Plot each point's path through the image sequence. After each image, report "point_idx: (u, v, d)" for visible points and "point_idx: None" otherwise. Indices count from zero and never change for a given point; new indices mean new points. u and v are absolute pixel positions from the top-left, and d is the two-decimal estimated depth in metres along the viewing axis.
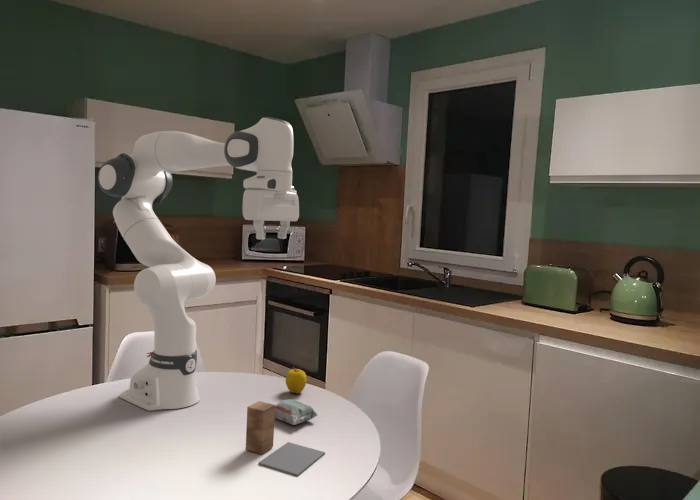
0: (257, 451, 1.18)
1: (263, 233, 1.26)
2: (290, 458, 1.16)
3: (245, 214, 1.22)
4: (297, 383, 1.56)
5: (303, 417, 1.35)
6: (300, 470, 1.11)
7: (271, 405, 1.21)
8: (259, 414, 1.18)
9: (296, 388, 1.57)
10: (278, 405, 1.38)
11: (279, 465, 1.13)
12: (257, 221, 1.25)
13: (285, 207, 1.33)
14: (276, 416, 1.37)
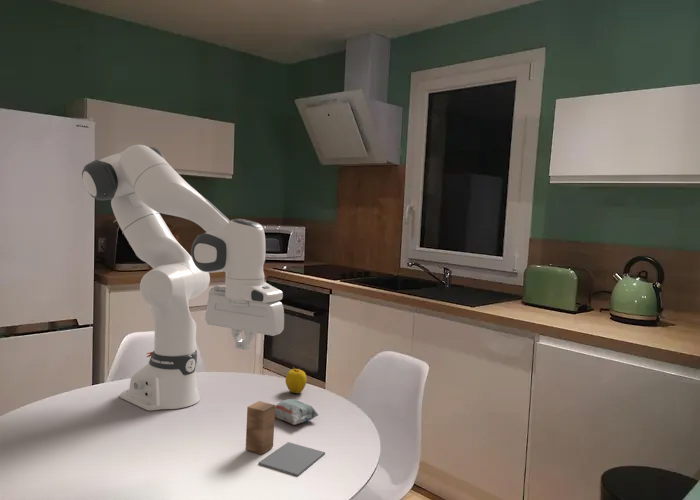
0: (257, 451, 1.18)
1: None
2: (290, 458, 1.16)
3: (277, 330, 1.16)
4: (297, 383, 1.56)
5: (304, 417, 1.35)
6: (300, 470, 1.11)
7: (271, 405, 1.21)
8: (259, 414, 1.18)
9: (296, 388, 1.57)
10: (279, 405, 1.38)
11: (279, 465, 1.13)
12: (252, 331, 1.20)
13: None
14: (277, 416, 1.37)
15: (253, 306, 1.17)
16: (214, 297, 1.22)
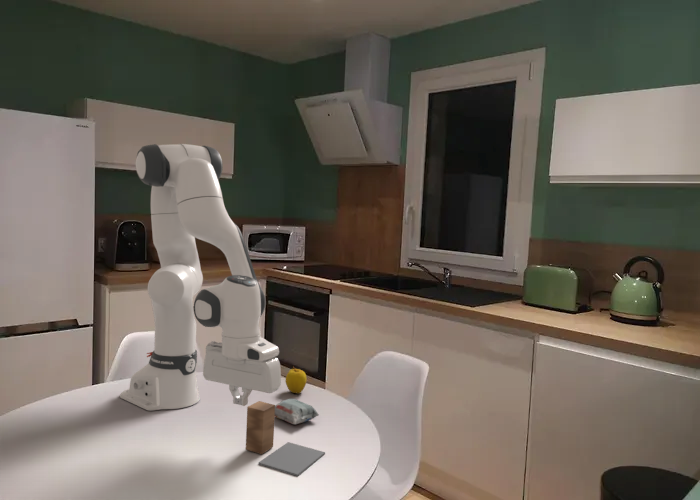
0: (257, 451, 1.18)
1: None
2: (290, 458, 1.16)
3: (274, 388, 1.17)
4: (297, 383, 1.56)
5: (304, 417, 1.35)
6: (300, 470, 1.11)
7: (271, 405, 1.21)
8: (259, 414, 1.18)
9: (296, 388, 1.57)
10: (280, 404, 1.38)
11: (279, 465, 1.13)
12: None
13: None
14: (277, 415, 1.37)
15: (249, 364, 1.17)
16: (211, 353, 1.23)
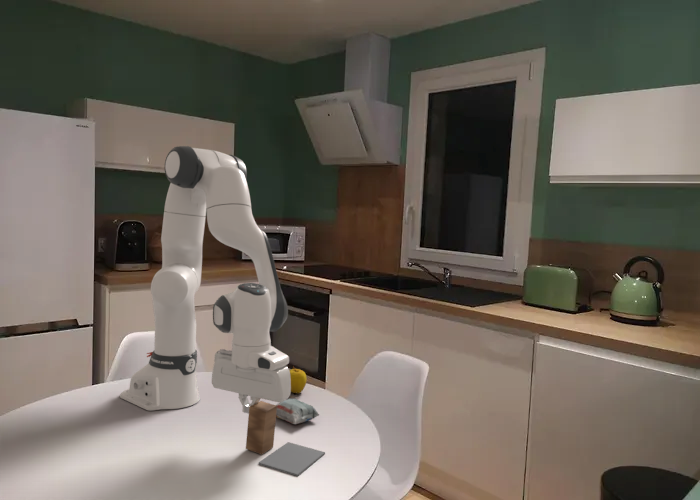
0: (257, 451, 1.18)
1: None
2: (290, 458, 1.16)
3: (284, 397, 1.16)
4: (297, 383, 1.56)
5: (304, 417, 1.35)
6: (300, 470, 1.11)
7: (273, 406, 1.20)
8: (260, 414, 1.17)
9: (296, 388, 1.57)
10: (280, 404, 1.38)
11: (279, 465, 1.13)
12: None
13: None
14: (278, 415, 1.37)
15: (260, 372, 1.17)
16: (221, 361, 1.22)
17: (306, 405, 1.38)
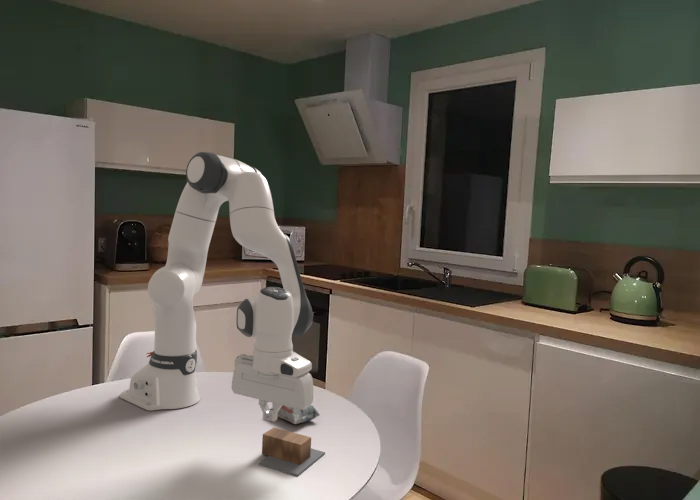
0: (263, 448, 1.17)
1: None
2: None
3: (307, 404, 1.14)
4: None
5: (304, 416, 1.35)
6: (300, 470, 1.11)
7: (308, 455, 1.17)
8: (296, 458, 1.14)
9: None
10: None
11: (279, 465, 1.13)
12: None
13: None
14: (278, 415, 1.38)
15: (282, 379, 1.14)
16: (241, 366, 1.20)
17: None
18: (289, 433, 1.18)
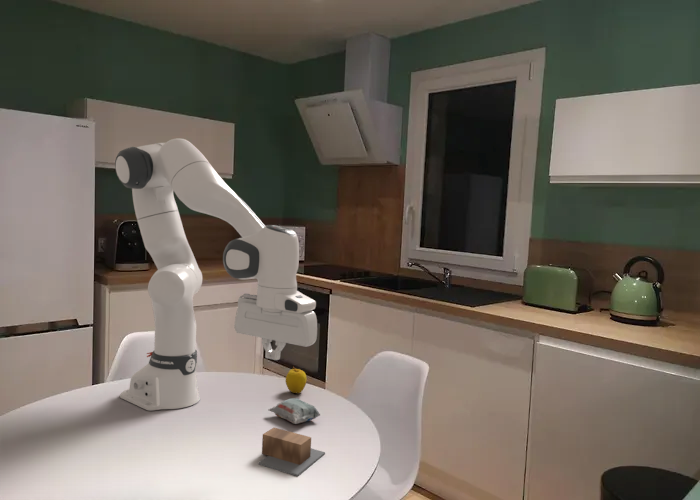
0: (263, 448, 1.17)
1: None
2: None
3: (311, 341, 1.13)
4: (297, 383, 1.56)
5: (305, 416, 1.35)
6: (300, 470, 1.11)
7: (308, 455, 1.17)
8: (296, 458, 1.14)
9: (296, 388, 1.57)
10: (281, 404, 1.39)
11: (279, 465, 1.13)
12: (283, 341, 1.17)
13: None
14: (279, 414, 1.38)
15: (286, 315, 1.13)
16: (245, 305, 1.19)
17: (307, 405, 1.38)
18: (289, 433, 1.18)
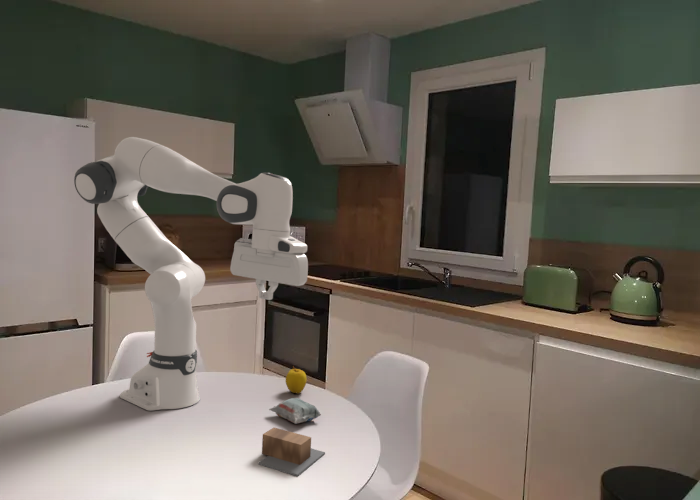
0: (263, 448, 1.17)
1: None
2: None
3: (301, 281, 1.20)
4: (297, 383, 1.56)
5: (305, 416, 1.35)
6: (300, 470, 1.11)
7: (308, 455, 1.17)
8: (296, 458, 1.14)
9: (296, 388, 1.57)
10: (282, 403, 1.39)
11: (279, 465, 1.13)
12: (276, 282, 1.25)
13: None
14: (280, 414, 1.38)
15: (279, 256, 1.21)
16: (240, 248, 1.26)
17: (308, 405, 1.38)
18: (289, 433, 1.18)
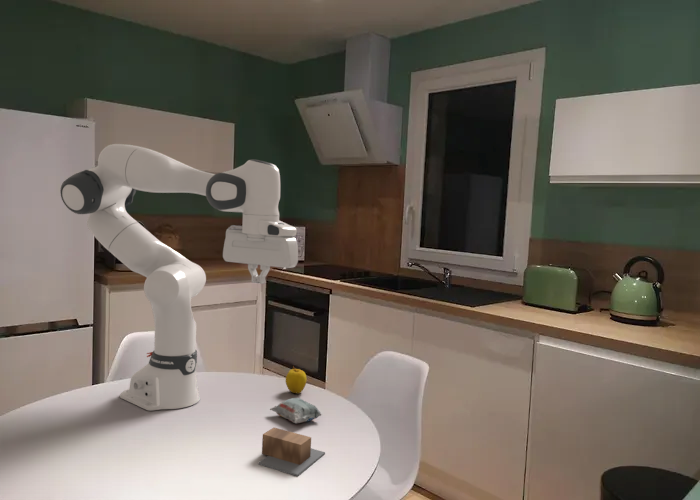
0: (263, 448, 1.17)
1: None
2: None
3: (292, 263, 1.23)
4: (297, 383, 1.56)
5: (306, 416, 1.35)
6: (300, 470, 1.11)
7: (308, 455, 1.17)
8: (296, 458, 1.14)
9: (296, 388, 1.57)
10: (283, 403, 1.39)
11: (279, 465, 1.13)
12: (267, 266, 1.27)
13: None
14: (281, 414, 1.38)
15: (269, 240, 1.24)
16: (232, 235, 1.29)
17: (308, 405, 1.38)
18: (289, 433, 1.18)
